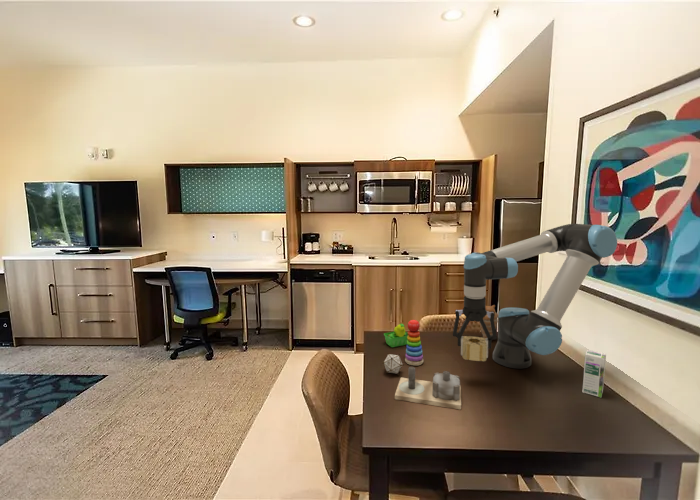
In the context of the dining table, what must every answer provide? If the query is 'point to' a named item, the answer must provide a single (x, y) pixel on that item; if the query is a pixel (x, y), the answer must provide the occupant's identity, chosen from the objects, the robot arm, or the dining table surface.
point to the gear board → (431, 390)
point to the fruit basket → (397, 336)
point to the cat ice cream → (487, 320)
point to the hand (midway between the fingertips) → (474, 355)
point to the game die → (393, 363)
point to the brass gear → (474, 348)
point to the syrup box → (594, 373)
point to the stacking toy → (414, 345)
